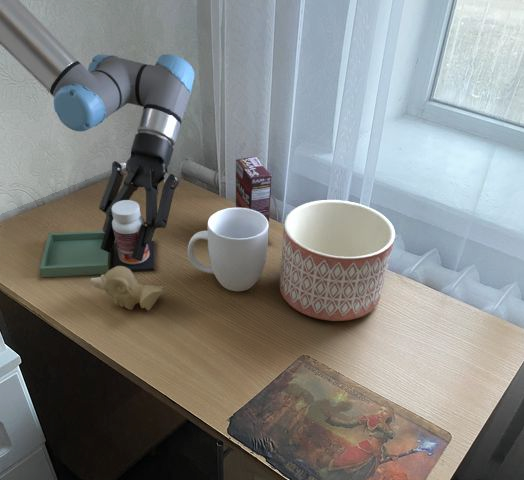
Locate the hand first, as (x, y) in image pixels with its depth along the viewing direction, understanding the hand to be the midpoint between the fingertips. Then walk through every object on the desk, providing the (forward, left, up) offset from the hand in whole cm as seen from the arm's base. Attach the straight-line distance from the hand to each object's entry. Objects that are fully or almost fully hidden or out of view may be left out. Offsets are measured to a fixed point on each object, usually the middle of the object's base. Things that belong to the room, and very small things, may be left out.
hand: (121, 254), depth 103 cm
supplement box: (-11, +27, -4) cm, 29 cm away
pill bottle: (-4, +2, -3) cm, 5 cm away
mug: (+5, +21, -4) cm, 22 cm away
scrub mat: (-5, +2, -4) cm, 6 cm away
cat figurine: (+10, +2, -4) cm, 11 cm away
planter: (+11, +39, -4) cm, 41 cm away
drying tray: (-6, -9, -4) cm, 11 cm away
